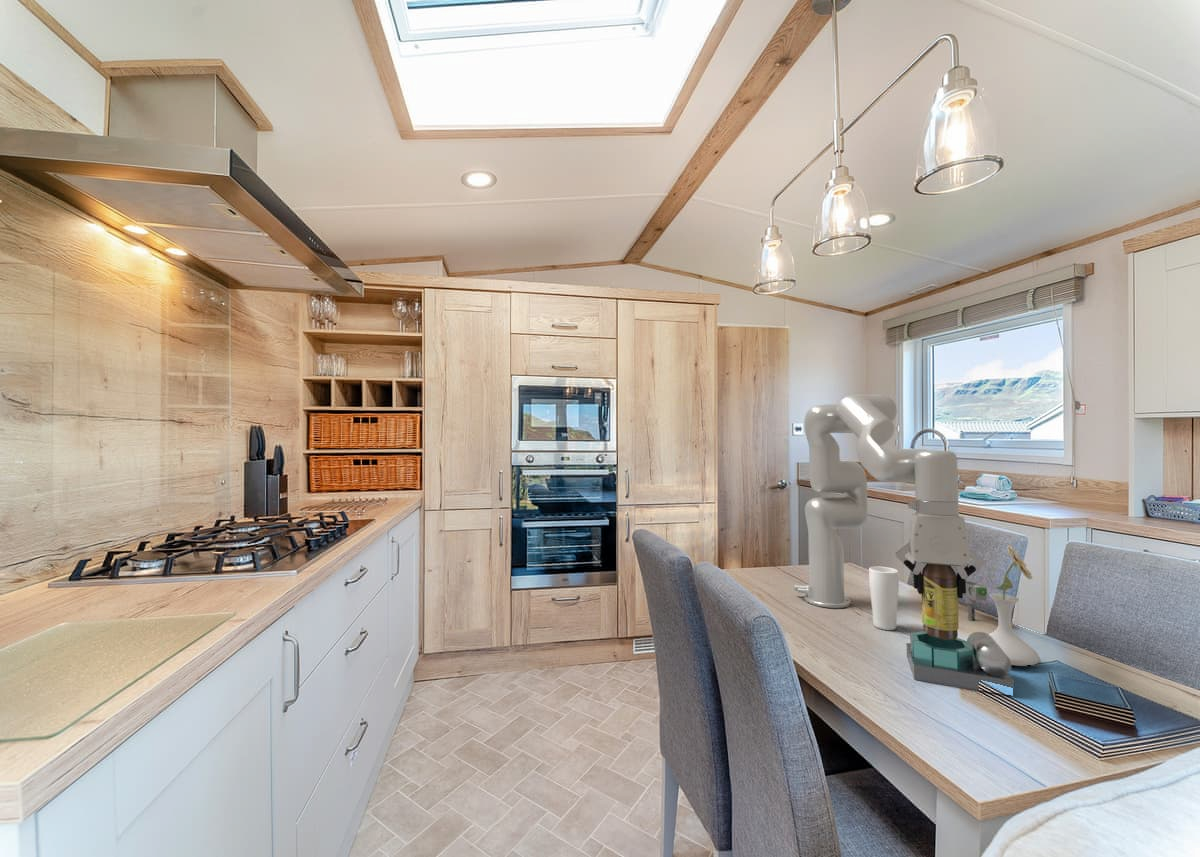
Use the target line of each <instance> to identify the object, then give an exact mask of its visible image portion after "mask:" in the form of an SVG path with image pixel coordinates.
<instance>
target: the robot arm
mask: <svg viewBox="0 0 1200 857" xmlns="http://www.w3.org/2000/svg"><path fill="white" fill-rule="evenodd" d="M897 411H898V409H897V406H896V403H895V401H894V400H893V399H892V397H890V396H889V395H886V394H882V393H881V394H880V393H872V394H871V393H870V394H869V393H868V394H867V393H858V394H857V393H856V394H855V393H854V394H848V395H846V396H844V397H843V398H841V399H840V400H838V403H837V404H834V403H833V404H831V403H830V404H828V403H827V404H818V405H814V406H812V407H811V408H809V409H808V410H807V412H806V413H805V415H804V420H803V426H804V433H805V436H806V440H807V444H808V458H809V459H808V460H809V461H808V462H809V467H808V468H809V482H810V486H811V489H812V490H813V491H815V492H817V493H826V494H828V493H829V494H830V493H838V494H839V493H841V494H842V493H843V495H844V496H820V497H813V498H811V499H809V500H808V501H807V502H806V504H805V505H804V517H805V522H806V525H807V526H806V527H807V532H808V533H807V535H808V560H809V563H808V564H809V565H808V568H809V570H808V571H809V582H808V584H805V585H803V584H802V585H801V584H798V583H797V584H796V583H794V585H793V589H794V591H796V592H797V593H801V594H804V600H805V602H807V603H808V602H809V604H811V605H814V606H817V607H821V608H829V609H842V608H848V607H850V606H851V599H849V598H848V597H847V596H845V562H844V561H845V560H844V559H845V558H844V557H845V556H844V545H843V544H844V543H843V541H842V539H841V537H840V536H839V535H838V533H837V531H836V530H838V529H859V528H862V527H863V526H864V525H865V524H866V522H867V519H868V483H867V482H868V481H867V480H868V479H867V474H866V472H865V470H866V471H867V472H868V474H869V475H871V476H872V477H873V478H874V479H876V480H877V481H880V482H883V483H915V484H914V486H915V487H914V488H915V492H914V493H915V499H914V501H911V502H907V509H912V510H914V511H915V513H912V515H911V519H910V527H909V540H908V542H907V543H906V544H905V545H903V547H901V548H899V550H897V551H896V552H895V553H894V554H895V557H896V558H897V559H898V560H899V562H901V563H903V565H904V566H906V568H908V570H909V571H911V572H912V574H913V576H912V577H913V579H912V580H913V589H916V591H917V593H918V594H919V595H922V594H923V576H922V570H923V568H924V565H926V564H938V565H950V566H951V567H952V566H954V569H955V570H956V571H955V572H956V576H957V588H958V598H959V599H963V598H964V596H963V594H966V581H967V579H968V577H970V576H971V575H972V574H974V573H975V572H976V570H978V569H980V568H981V567H982V566H984V565H985V560H983V558H982V557H980V556H979V555H978V554H977V553H975V551H973V550H972V549H971V548H970V546H969V545H970V544H969V543H970V542H969V537H968V529H967V525H966V519H965V517H964V516H961V515H960V512H959V508H960V507H959V505H960V504H959V476H958V475H959V474H958V457H957V454H956V453H955V452H953V451H950V450H930V449H920V448H915V449H913V448H911V449H910V448H904V449H903V448H897V449H896V448H891V449H890V448H888V449H886V448H883V447H882V446H883V445H885V444H886V443H888V441H890V439H892V437H893V435H894V432H895V424H894V422H893V421H894V420H895V418H896V417H897ZM832 434H854V435H855V436H856V437H857V442H856V452H857V457H858V461H859V462H860V463H859V462H856V461H851V460H850V461H849V460H848V461H843V460H842V461H841V459H840V458H841V456H840V454H841V452H840V446H839V443H838V441H837V440H836V439H835V437H834V436H833V435H832ZM907 554H909V556H911V559H912V560H913V561H914V562H911V561H910V560H909V559H908V558H907V557H906V555H907ZM971 559H972V562H971V563H970V560H971Z"/></svg>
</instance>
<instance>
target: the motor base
mask: <svg viewBox="0 0 1200 857" xmlns="http://www.w3.org/2000/svg"><path fill="white" fill-rule="evenodd" d="M989 634H990V633H987V632H984V631H974V632H972V633H971V634H969V635H968V637H967V639H966V640H965V639H962V638H960V637H957V638H956V639H953V640H944V639H939V638H935V637H932V636H930V635H929V634H927V633H925V632H924V630H922V631H917V632H910V634H909V640H910V641H909V642H906V657H907V662H908V664H909V667H910V671H911V673H912V677H913V679H914V681H919V682H926V683H932V684H936V685H944V686H948V687H955V688H960V689H966V690H971V691H977V692H981V691H980V690H979V686H978V684H979V681H981V680H983V681H987V682H992V683H995V684H1000V685H1003V686H1007V687H1011V688H1014V689H1015V687H1014V684H1015V682H1014V680H1013V678H1012V676H1010V671H1011V669H1012V665H1011V661H1010V659H1009V658H1008V657H1007V655H1006V654H1005V653H1004V651H1003V650H1002V649H1001V648H1000V646H999V645H998V644H997V643H996V641H995V640H994V639H993V638H992V637H991V636H990V635H989Z"/></svg>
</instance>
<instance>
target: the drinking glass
mask: <svg viewBox="0 0 1200 857" xmlns="http://www.w3.org/2000/svg"><path fill="white" fill-rule="evenodd" d="M868 584H869V585H868V586H869V587H868V588H869V594H870V595H869V596H870V603H871V612H872V625H873V626H874V627H875V628H877V629H880V630H884V631H894V630H896V629H897V625H898V624H897V621H898V620H897V617H898V603H899V602H898V601H899V593H900V592H899V591H900V590H899V589H900V577H899V571H898V569H896V568H892V567H887V566H880V565H879V566H876V565H875V566H870V567H869V568H868Z"/></svg>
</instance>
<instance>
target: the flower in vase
mask: <svg viewBox="0 0 1200 857" xmlns="http://www.w3.org/2000/svg"><path fill="white" fill-rule="evenodd" d="M1006 549H1007V551H1008V553H1009V555H1010V557H1011V559H1012V563H1011V565H1010V566H1009V567H1008V569H1007V570H1006V572H1005V574H1004V578H1003V583H1002V584H1001V585H1000V586H997V588H996V589H997V590H1001V591H1002V593H990V594H989V597H990V598H991V600H993V602H994V605H995V607H996V611H997V616H998V617H997V622H998V624H997V627H996V629H995V630H994V631H992V632H990V633H988V634H989V635H990V636H991V637H992V638H993V639H994V640H995V641H996V643H997V644H998V645H999V646H1000V648H1001V649H1002V650H1003V651H1004V653H1005V654H1006V655H1007V657H1008V658H1009V659H1010V661H1011V666H1017V667H1028V666H1027V665H1031V666H1036V665H1037V664H1038V663H1040V661H1041V658H1040V655H1039V654H1038V653H1037V651H1036V650H1034V648H1033V647H1031V646H1030V645H1029V644H1028V643H1026V642H1025V641H1024V640H1023V639H1021V638H1020V637H1019V636H1018V635H1017V634H1016V633H1015V632H1014V630H1013V626H1012V612H1013V610H1014V609H1013V608H1014V607H1015V605H1016V603H1017V602H1019V600H1020V599H1019V598H1018V597H1016V596H1013V595H1009V594H1006V591H1007V590H1009V589H1013V588H1014V585H1013V584H1012V581H1011V579H1010V578H1009V577H1008V576H1009V575H1008V574H1009V573H1010V571H1011V569H1012V568H1013V567H1014V566H1015V567H1018V570H1020V572H1021V573H1022V574H1023V576H1025V577H1026V578H1027V579H1028V580H1033V577H1032V576H1033V574H1032V572H1030V570H1029V569H1028V568H1026V567H1027V565H1026V563H1025V561H1022V560H1021V557H1020V555H1019V553H1018V552H1017V551H1016V552H1015V549H1014V547H1013V545H1009V544H1007V545H1006ZM1035 664H1036V665H1035Z"/></svg>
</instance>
